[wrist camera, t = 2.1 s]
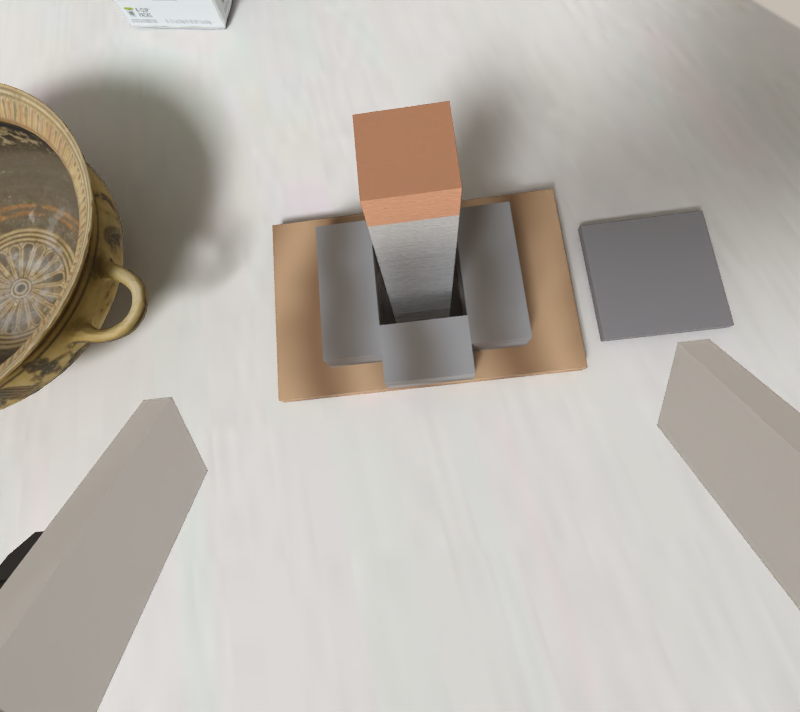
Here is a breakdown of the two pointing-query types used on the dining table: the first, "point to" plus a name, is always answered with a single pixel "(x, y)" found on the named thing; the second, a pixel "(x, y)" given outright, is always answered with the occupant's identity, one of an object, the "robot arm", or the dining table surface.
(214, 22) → the tea box
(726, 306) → the pad
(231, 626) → the dining table surface
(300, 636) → the dining table surface
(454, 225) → the grey orange-ended block
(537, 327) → the board
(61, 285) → the ceramic bowl
